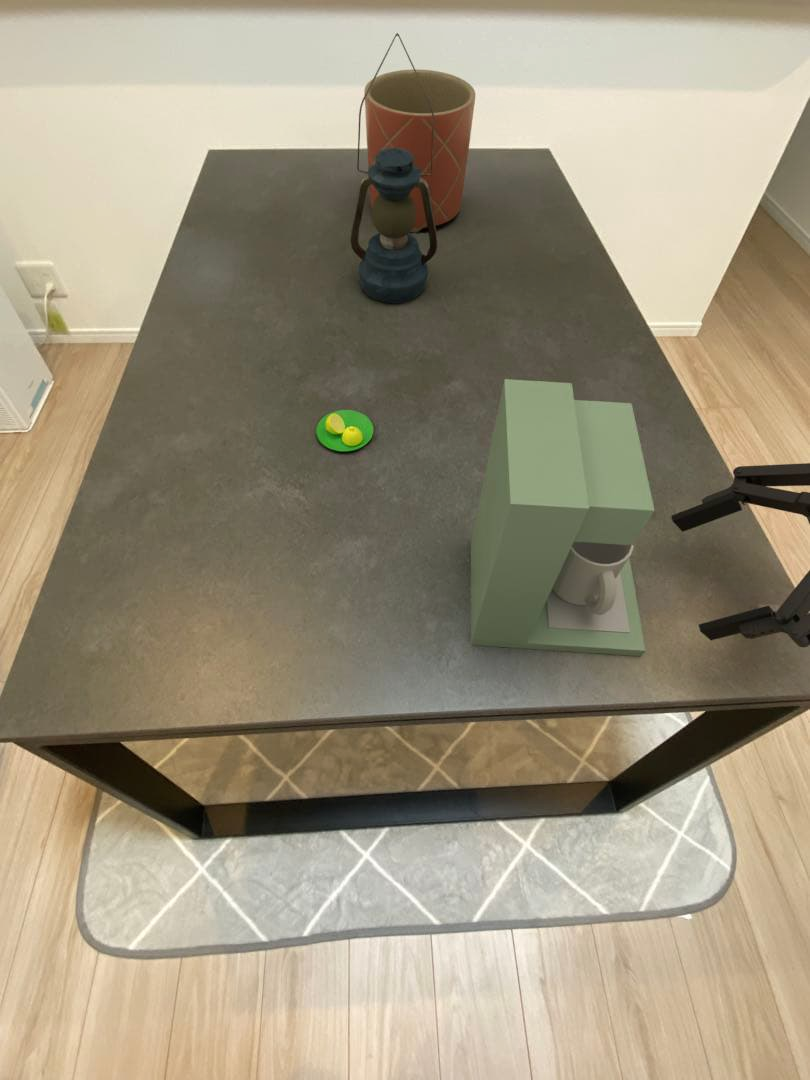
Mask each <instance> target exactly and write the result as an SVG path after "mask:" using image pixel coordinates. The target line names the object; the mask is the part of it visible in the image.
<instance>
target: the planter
mask: <svg viewBox="0 0 810 1080" xmlns="http://www.w3.org/2000/svg"><path fill="white" fill-rule="evenodd" d="M415 70H416V72H417V74H418V76H419V78H420V81H421V83H422V85H423V87H424V89H425V91H426V93H427V95H428V98H429V100H430V102H431V105H432V108H433V114H434V127H433V163H432V173H431V175H428V176H421V177H420V178H422V179H424V180H425V181H426V182H427V184H428V187H429V192H430V198H431V204H432V210H433V216H434V222H435V227H436V226H440V225H442V224H445V223H447V222H449V221H451V220H452V219H454V218H455V217H456V216H457V215H458V214H459V213H460V211H461V206H462V201H463V194H464V186H465V179H466V171H467V164H468V156H469V150H470V143H471V136H472V135H471V134H472V128H473V119H474V112H475V111H474V110H475V105H476V91H475V89H474V86H472V85H471V84H470V83H469V82H467V81H466V80H464V79H463V78H462V77H461V78H460V77H459V76H456V75H454V74H451V73H447V72H443V71H438V70H431V69H415ZM372 80H373V78H371V80H369V82H367V83H366V85H365V87H364V90H363V91H364V92H363V93H364V94H363V95H364V96H365V94H366V92H367V90H368V88H369V86H370V84H371V82H372ZM364 96H363V97H364ZM364 111H365V130H366V133H365V134H366V148H367V165H368V169H369V168H370V167H371V166H372V165H373V164H375V156H376V154H377V153H378V152H379V151H381V150H384V149H388V148H400V149H403V150H407V151H408V152H410V153H411V154H412V155H413V157H414V165H416V166H417V167H418V168H419V169H420V172H421V175H424V174H430V172H431V158H432V112H431V107H430V104H429V102H428V100H427V97H426V95H425V93H424V91H423V89H422V87H421V84H420V82H419V80H418V78H417V76H416V73H415V71H414V69H400V70H394V71H390V72H386V73H383V74H380V75H378V76H376V78H375V80H374V82H373V84H372V86H371V88H370V90H369V92H368V94H367V96H366V98H365V100H364ZM378 195H379V192H378V190H377V189H376V188H375V187H374V186H373V184H371V185H370V186H369V198H370V205H371V206H370V207H371V208H372V207H373V203H374V200H375V198H376V197H377V196H378ZM409 195H410V197H411V198H412V199H413V200H414V204H415V208H416V219H415V224H414V227H413V229H412V230H411V231H410V232H409V233H414V234H415V233H419V231H421V230H423V229H426V228H428V227H427V222H426V216H425V211H424V205H423V200H422V194H421V191H420V189H419V188H418V187H415V188H414V189H413V190H411V192H410V194H409Z"/></svg>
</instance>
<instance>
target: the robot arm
mask: <svg viewBox="0 0 810 1080" xmlns="http://www.w3.org/2000/svg"><path fill="white" fill-rule="evenodd" d="M732 474H733V482H732V484H731V485H730V486H728V487H727V488H725V489H722V490H720V491H717V492H714V493H712V494H710V495H707V496H705V497H704V498H702V499H701V504H698V505H696V506H692V507H690V508H688V509H684V510H682V511H680V512H678V513H675V514H672V515H670V517H671V521H672V522H673V524H674V525H676V527H677V528H678V529H679V530H680V532H682V533H683V532H686V531H689V530H692V529H694V528H697V527H700V526H703V525H705V524H708V523H711V522H713V521H716V520H719V519H721V518H724V517H727V516H730V515H733V514H735V513H738V512H741V511H743V509H742V508H743V507H742V505H743V506H746V504H750V505H753V506H759V507H763V508H768V509H773V510H778V511H782V512H788V513H793V514H796V515H800V516H803V517H805V518H806V519H807V522H808V524H809V525H810V492H809V491H801V492H798V491H792V490H786V489H780V488H775V487H805V486H806V487H808V486H809V487H810V462H807V463H806V462H805V463H803V462H802V463H785V464H784V463H783V464H762V465H741V466H740V465H739V466H736V467H734V469H733V470H732ZM741 504H742V505H741ZM698 628H699V632H700V633H701V634H703V635H704V636H705V637H706V638H707V639H708V640H709V641H714V640H719V639H722V638H727V637H730V636H735V635H739V634H741V635H742V636H743V637H744V638H745V639H748V640H749V639H750V640H753V639H758V638H761V637H766V636H770V635H774V634H777V633H784V634H786V635H787V636H788V637H789V638H790V639H791V640H792V641H793V643H795V644H796V646H798V647H799V648H807V647H809V646H810V569H809V570H808V571H807V573H805V575H804V576H803V578H802V579H801V580H800V581H799V583H797V585H796V586H795V588H794V589H793V590H792V591H791V592H790V594H789V595H788V596H787V597H786V599H785V600H784V601H783V603H782V604H781V605H780V606H779V607H778V609H777V610H776V611H774V610H773V609H772V607H771V606H770V605H766V606H762V607H758V608H757V607H756V608H754V609H750V610H746V611H744V612H743V611H742V612H739V613H735V614H732V615H729V616H728V615H727V616H723V617H721V618H718V619H714V620H713V619H712V620H711V621H710V620H709V621H707V622H702V623H699V624H698Z"/></svg>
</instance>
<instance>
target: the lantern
mask: <svg viewBox="0 0 810 1080" xmlns="http://www.w3.org/2000/svg"><path fill="white" fill-rule="evenodd" d="M396 37H398V38H399V41H400V44H401V45H402V48H403V49H404V51H405V54H406V57H407V58H408V61H409V62H410V66H411V67H412V70H414V71H415V73H416V76H417V78H418V80H419V82H420V84H421V87H422V89H423V91H424V93H425V95H426V97H427V100H428V102H429V104H430V107H431V112H432V158H431V172H430V174H424V175H421V172H420V169H419V168H418V167H417V166H416V165H414V157H413V155H412V154H411V153H410V152H408V151H407V150H403V149H400V148H388V149H384V150H381V151H379V152H378V153H377V154H376V156H375V164H373V165H372V166H371V167H370V168H369V167H368V170H367V171H365V170H362V169H360V168H359V166H360V146H361V145H360V144H361V118H362V117H361V115H362V108H363V105H364V103H365V98H366V96H367V94H368V92H369V90H370V88H371V86H372V84H373V82H374V80H375V78H376V77H378V76H377V75H378V73H379V72H380V70H381V67H382V66H383V64H384V62H385V59H386V57H387V56H388V54H389V51H390V50H391V47H392V46H393V44H394V41H395V39H396ZM408 53H409V52H408V51H407V49H406V47H405V44H404V43H403V40H402V38H401V36H400V34H399V33H395V35H394V36H393V39H392V41H391V43H390V45H389V47H388V49H387V51H386V53H385V54H384V57H383V58H382V61H381V62H380V65H379V66H378V68H377V70H376V72H375V74H374V76H373V78H372V79H373V80H372V79H371V80H372V82H371V84H370V86H369V88H368V90H367V92H366V94H365V96H363V97H362V100H361V103H360V106H359V111H358V112H359V113H358V135H357V161H356V162H357V167H356V168H357V171H358V172H360V173H363V174H367V175H365V176H363V178H362V180H361V182H360V186H359V191H358V196H357V201H356V207H355V212H354V217H353V222H352V226H351V234H350V246H351V249H352V251H353V252H354V254H355V255H356V256H357V257H358V258H359V259H361V260H360V261H359V263H358V279H359V282H360V284H361V287H362V288H363V289H362V290H363V291H364V292H365V293H366V295H367V296H369V297H370V298H371V299H373V300H375V301H378V302H381V303H386V304H403V303H407V302H410V301H412V300H414V299H416V298H418V297H419V296H420V295H421V293H422V291H423V290H424V288H425V286H426V284H427V281H428V277H429V276H428V275H429V266H428V264H427V263H428V262H429V261H431V259H432V258H433V257H434V256H435V254H436V253H437V249H438V235H437V234H438V233H437V228H436V226H435V222H434V216H433V210H432V204H431V198H430V192H429V187H428V184H427V182H426V181H425V180H424V179H422V178H420V177H421V176H428V175H431V173H432V163H433V127H434V114H433V108H432V105H431V102H430V100H429V98H428V95H427V93H426V91H425V89H424V87H423V85H422V83H421V81H420V78H419V76H418V74H417V72H416V70H417V69H416V68H415V65H414V64H413V61H412V59H411V57H410V55H409V54H408ZM371 184H373V186H374V187H375V188H376V189H377V190H378V192H379V195H378V196H377V197H376V198H375V200H374V203H373V207H371V211H372V215H371V216H372V223H373V227H374V229H376V231H377V233H375V234H373V236H371V237H370V239H369V240H368V242H367V243H368V244H367V247H366V249H364V248H363V247H362V246H361V245H360V243H359V235H360V226H361V222H362V217H363V212H364V207H365V202H366V199H367V198H366V197H367V192H368V189H369V188H370V185H371ZM415 187H418V188H419V189H420V191H421V194H422V200H423V205H424V211H425V216H426V222H427V227H426V228H427V232H428V238H429V239H428V240H429V248H428V250H426V251H425V252H424V253H422V250H421V249H420V246H419V245H420V244H419V241H418V239H417V238H416V237H415V236H414V235H412V234H410V233H411V232H410V231H411V230H412V229H413V227H414V224H415V219H416V208H415V204H414V200H413V199H412V198H411V197H410V195H409V194H410V192H411V190H413V189H414V188H415Z"/></svg>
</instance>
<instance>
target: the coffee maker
mask: <svg viewBox="0 0 810 1080" xmlns="http://www.w3.org/2000/svg"><path fill="white" fill-rule="evenodd" d="M644 459H645V458H644V455H643V449H642V445H641V441H640V436H639V431H638V427H637V423H636V418H635V413H634V408H633V403H631V402H615V401H599V400H598V401H597V400H583V399H575V395H574V390H573V383H572V382H559V381H543V380H542V381H541V380H525V379H524V380H523V379H509V378H504V380H503V385H502V390H501V394H500V399H499V403H498V408H497V413H496V419H495V423H494V428H493V434H492V438H491V442H490V447H489V452H488V457H487V462H486V467H485V471H484V475H483V476H484V477H483V481H482V486H481V491H480V494H479V500H478V505H477V509H476V514H475V520H474V524H473V529H472V534H471V539H470V646H483V647H498V648H510V649H511V648H513V649H526V650H527V649H529V650H540V651H541V650H543V651H555V652H556V651H557V652H559V651H560V652H573V653H574V652H575V653H589V654H601V655H602V654H603V655H618V656H633V657H642V656H643V655H644V654H645V652H646V645H645V639H644V634H643V627H642V621H641V616H640V610H639V605H638V599H637V593H636V588H635V582H634V576H633V572H632V566H631V559H630V557H629V558H628V560H627V562H626V563H625V565H624V566H623V568H622V570H621V571H620V573H619V574H618V576H617V578H616V579H615V581H616V597H615V601H614V603H613V606H612V607H611V609H610V610H609V611H607V612H606V613H604V614H603V615H596V614H593V613H591V612H590V611H589V609H588V608H587V606H586V605H577V604H572V603H569V602H567V601H565V600H563V599H562V598H560V597H559V596H558V595H557V594H556V593H555V592H554V591H553V590H552V588H553V586H554V583H555V581H556V579H557V577H558V575H559V573H560V570H561V568H562V566H563V564H564V562H565V560H566V558H567V555H568V553H569V551H570V549H571V547H572V545H573V542H588V543H604V544H620V545H634V546H635V543H636V542H637V540H638V538H639V537H640V536H641V533H642V532H643V530H644V529H645V527H646V525H647V524H648V522H649V520H650V519H651V517H652V516H653V514H654V512H655V510H656V509H655V506H654V505H655V504H654V501H653V495H652V491H651V487H650V482H649V478H648V477H649V476H648V473H647V468H646V464H645V463H646V462H645V460H644Z"/></svg>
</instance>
